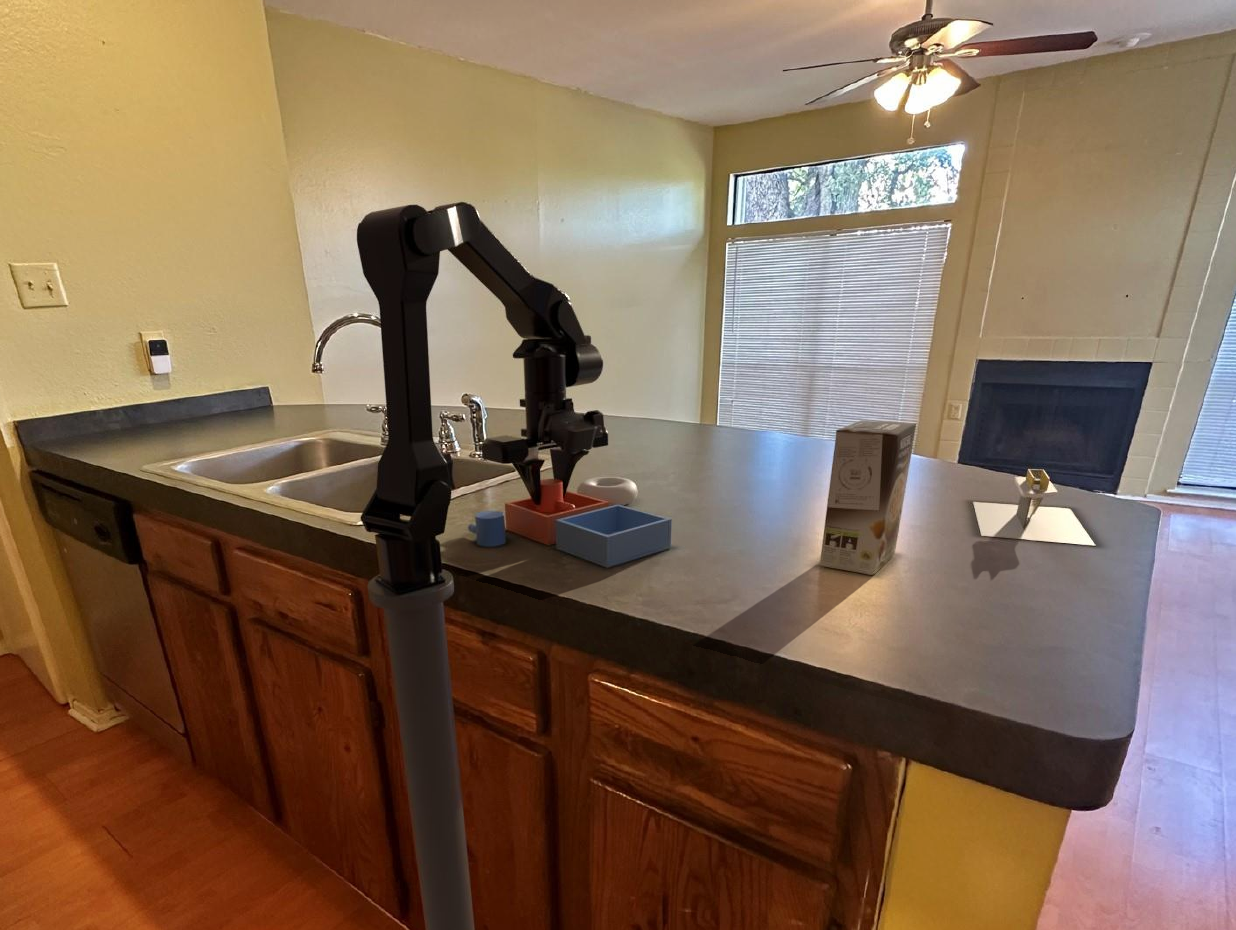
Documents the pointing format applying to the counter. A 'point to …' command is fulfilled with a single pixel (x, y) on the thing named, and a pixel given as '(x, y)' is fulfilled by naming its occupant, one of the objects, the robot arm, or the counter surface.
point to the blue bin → (613, 535)
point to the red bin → (545, 516)
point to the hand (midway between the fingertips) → (548, 501)
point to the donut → (609, 490)
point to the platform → (1031, 516)
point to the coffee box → (866, 494)
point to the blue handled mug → (489, 528)
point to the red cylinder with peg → (552, 497)
